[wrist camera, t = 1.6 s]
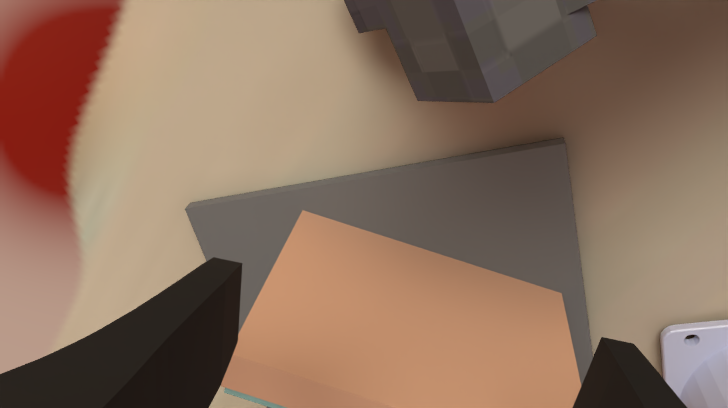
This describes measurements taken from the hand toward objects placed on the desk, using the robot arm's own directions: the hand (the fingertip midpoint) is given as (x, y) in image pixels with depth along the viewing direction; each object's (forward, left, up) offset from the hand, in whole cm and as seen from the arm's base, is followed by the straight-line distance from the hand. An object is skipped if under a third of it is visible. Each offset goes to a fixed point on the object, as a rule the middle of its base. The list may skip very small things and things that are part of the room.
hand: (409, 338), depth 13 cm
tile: (+1, +5, -10) cm, 11 cm away
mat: (+3, +8, -11) cm, 13 cm away
